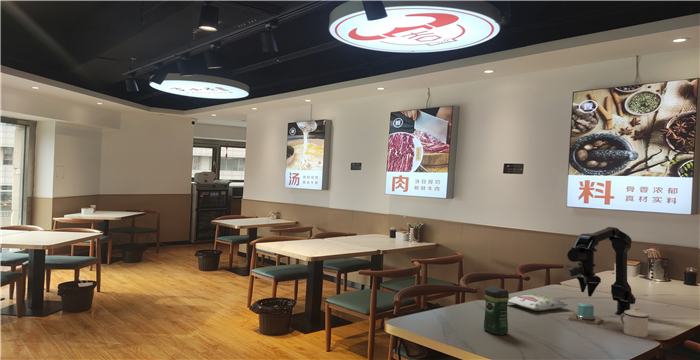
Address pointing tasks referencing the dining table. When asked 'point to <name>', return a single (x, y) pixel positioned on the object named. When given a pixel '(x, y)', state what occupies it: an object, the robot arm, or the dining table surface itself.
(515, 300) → the frozen beans
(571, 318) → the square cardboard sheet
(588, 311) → the cap
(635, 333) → the teacup with lid
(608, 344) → the dining table surface
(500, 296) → the coffee jar
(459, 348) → the dining table surface
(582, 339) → the dining table surface
